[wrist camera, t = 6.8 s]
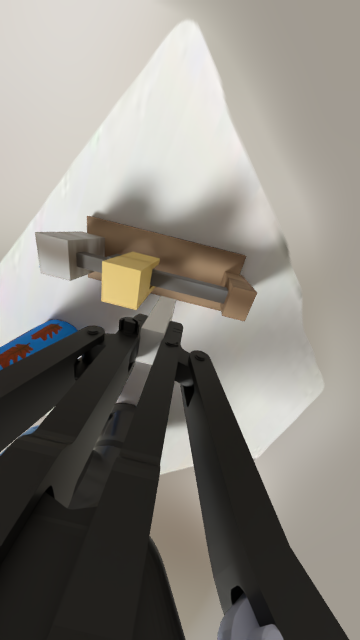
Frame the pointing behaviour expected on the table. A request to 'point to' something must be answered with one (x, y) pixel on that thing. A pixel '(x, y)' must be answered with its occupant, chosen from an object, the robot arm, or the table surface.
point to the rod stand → (168, 276)
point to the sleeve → (127, 279)
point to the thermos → (34, 341)
